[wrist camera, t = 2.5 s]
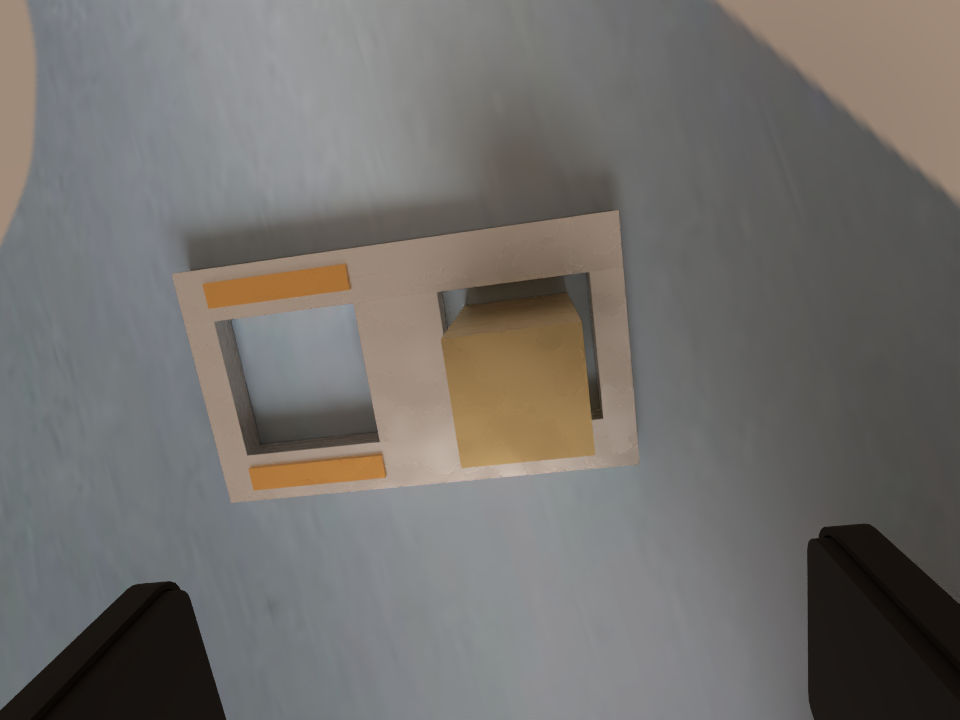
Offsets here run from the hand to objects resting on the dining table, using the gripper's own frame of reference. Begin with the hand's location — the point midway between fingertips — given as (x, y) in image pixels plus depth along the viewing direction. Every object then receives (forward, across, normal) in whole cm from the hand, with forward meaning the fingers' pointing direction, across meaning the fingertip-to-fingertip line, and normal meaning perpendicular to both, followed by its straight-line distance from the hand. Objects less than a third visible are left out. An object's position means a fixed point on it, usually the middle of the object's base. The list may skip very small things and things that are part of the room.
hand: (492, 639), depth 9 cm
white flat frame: (+21, +5, 0) cm, 21 cm away
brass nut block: (+21, 0, 0) cm, 21 cm away
